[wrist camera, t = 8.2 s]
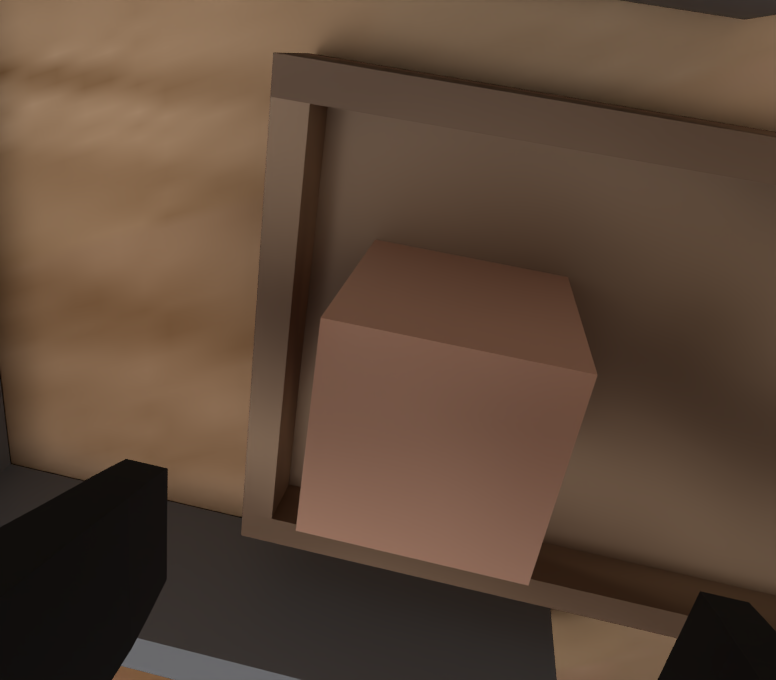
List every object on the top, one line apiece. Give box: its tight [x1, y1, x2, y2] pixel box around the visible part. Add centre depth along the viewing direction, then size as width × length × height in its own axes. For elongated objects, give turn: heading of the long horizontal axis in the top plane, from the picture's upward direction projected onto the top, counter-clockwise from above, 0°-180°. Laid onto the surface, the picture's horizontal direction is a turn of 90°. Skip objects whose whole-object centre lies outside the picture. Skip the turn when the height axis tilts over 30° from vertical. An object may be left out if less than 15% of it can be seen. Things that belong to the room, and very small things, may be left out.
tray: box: [241, 53, 776, 638], centre depth 14 cm, size 13×17×5 cm
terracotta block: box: [296, 240, 597, 585], centre depth 13 cm, size 4×4×5 cm
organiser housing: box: [0, 0, 776, 680], centre depth 15 cm, size 18×19×5 cm
